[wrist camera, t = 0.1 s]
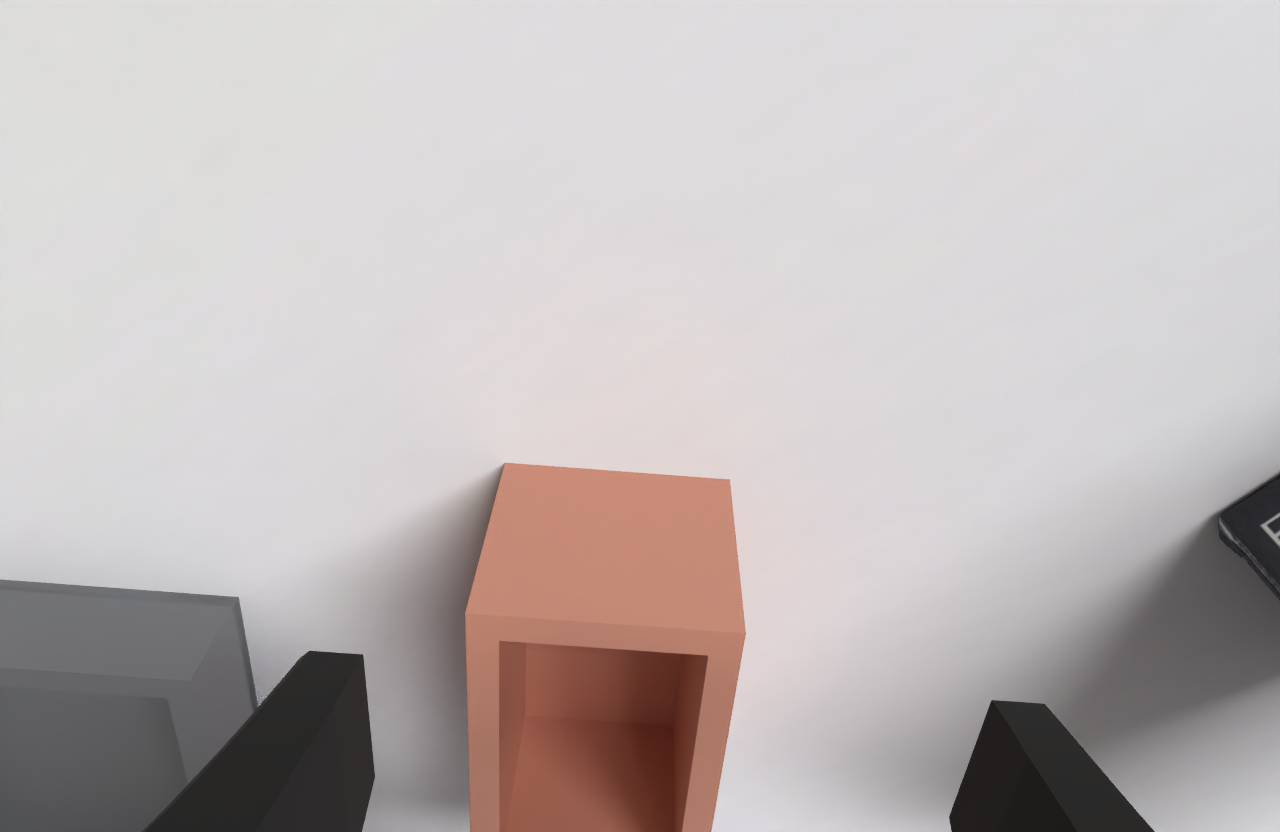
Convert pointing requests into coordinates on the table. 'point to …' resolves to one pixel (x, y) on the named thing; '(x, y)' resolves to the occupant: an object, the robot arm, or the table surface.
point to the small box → (1256, 533)
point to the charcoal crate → (112, 701)
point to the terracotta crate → (602, 652)
